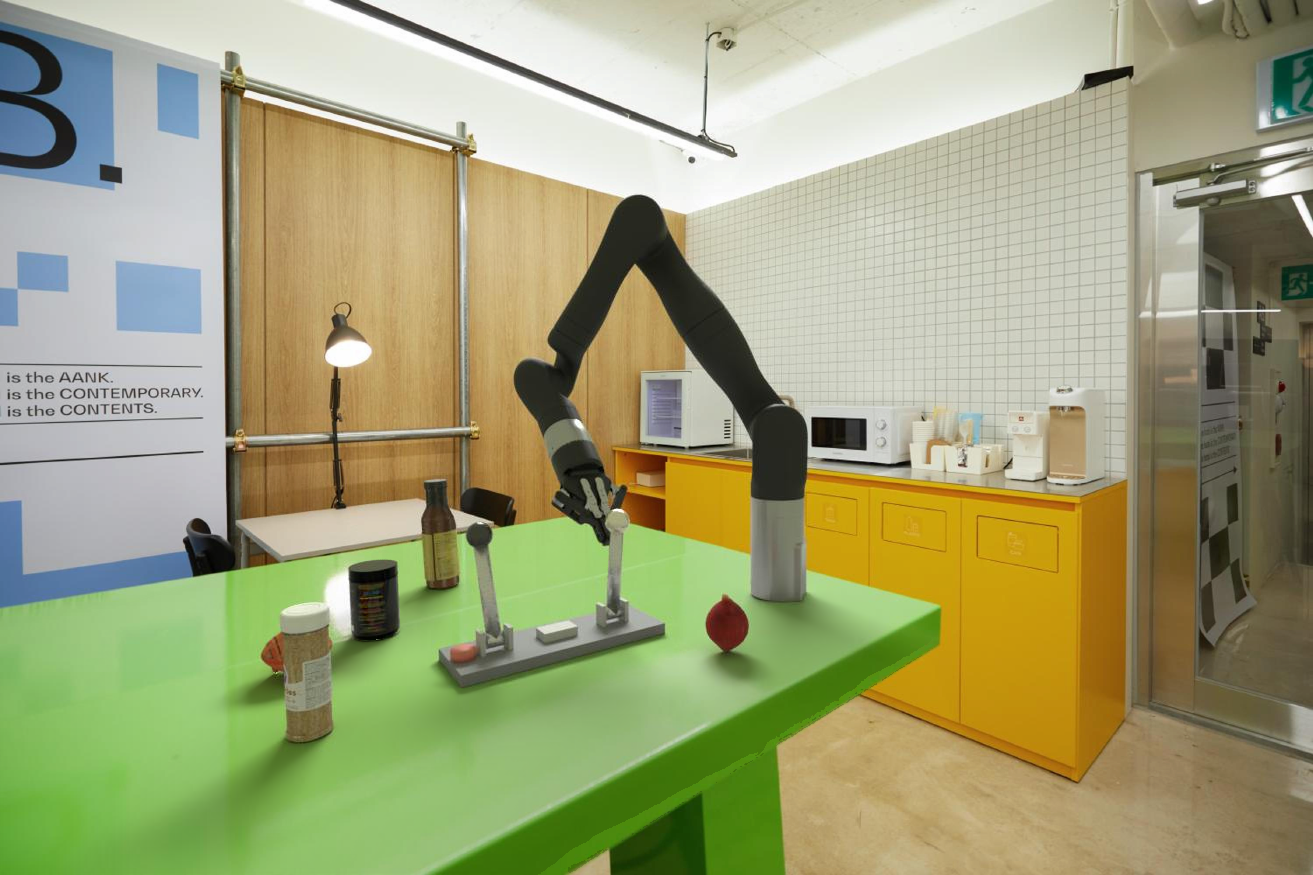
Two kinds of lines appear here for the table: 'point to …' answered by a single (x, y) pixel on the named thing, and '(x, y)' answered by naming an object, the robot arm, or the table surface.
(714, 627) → the onion
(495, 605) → the silver metal rod
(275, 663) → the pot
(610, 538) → the metal lever
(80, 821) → the table surface
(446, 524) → the sauce bottle
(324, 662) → the sprinkles bottle
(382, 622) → the supplement container
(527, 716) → the table surface
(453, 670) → the switch panel
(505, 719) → the table surface
